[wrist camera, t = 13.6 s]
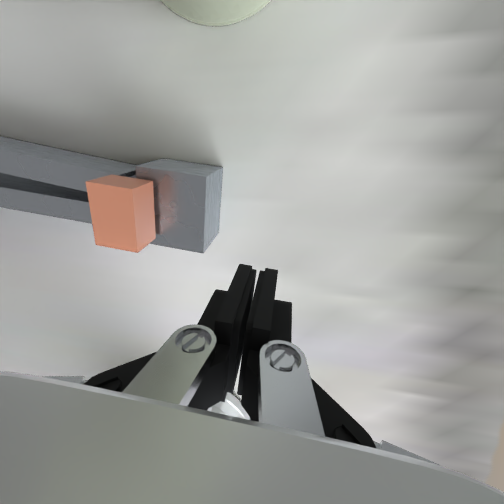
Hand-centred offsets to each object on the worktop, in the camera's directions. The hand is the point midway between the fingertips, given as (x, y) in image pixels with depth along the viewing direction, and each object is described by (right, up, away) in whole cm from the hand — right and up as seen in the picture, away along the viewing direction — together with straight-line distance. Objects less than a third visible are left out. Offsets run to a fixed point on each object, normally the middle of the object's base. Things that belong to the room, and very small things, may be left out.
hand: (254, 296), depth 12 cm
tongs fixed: (-14, +7, +8) cm, 17 cm away
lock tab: (-7, +4, +4) cm, 9 cm away
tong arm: (-16, +9, +7) cm, 20 cm away
